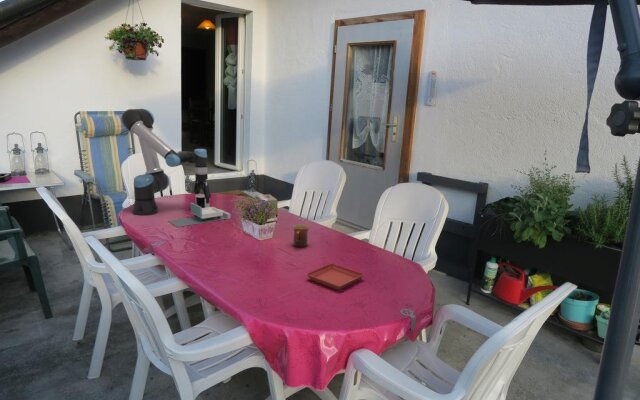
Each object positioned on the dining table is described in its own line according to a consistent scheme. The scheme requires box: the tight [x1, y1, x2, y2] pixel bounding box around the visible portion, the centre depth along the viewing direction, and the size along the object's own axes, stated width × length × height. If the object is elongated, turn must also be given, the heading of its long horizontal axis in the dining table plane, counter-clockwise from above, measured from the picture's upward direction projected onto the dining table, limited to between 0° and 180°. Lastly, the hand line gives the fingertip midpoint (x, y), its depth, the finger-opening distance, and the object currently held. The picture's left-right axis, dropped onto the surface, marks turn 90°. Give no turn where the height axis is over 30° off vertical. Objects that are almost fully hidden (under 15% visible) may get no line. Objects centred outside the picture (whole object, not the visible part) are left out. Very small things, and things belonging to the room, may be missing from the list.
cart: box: [189, 202, 224, 221], centre depth 264 cm, size 14×15×9 cm
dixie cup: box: [195, 193, 205, 208], centre depth 279 cm, size 8×8×11 cm
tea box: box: [254, 194, 279, 219], centre depth 267 cm, size 15×10×15 cm
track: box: [167, 208, 232, 228], centre depth 262 cm, size 14×34×3 cm, turn 130°
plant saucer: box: [306, 263, 364, 291], centre depth 185 cm, size 18×18×3 cm
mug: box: [292, 223, 310, 248], centre depth 223 cm, size 12×9×10 cm
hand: (202, 205), depth 279 cm, fingers open, 13 cm apart
